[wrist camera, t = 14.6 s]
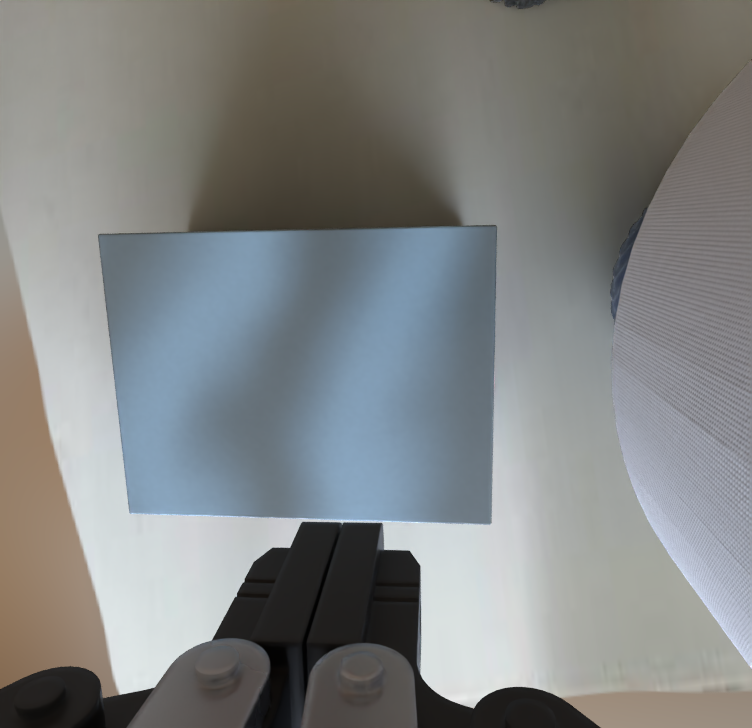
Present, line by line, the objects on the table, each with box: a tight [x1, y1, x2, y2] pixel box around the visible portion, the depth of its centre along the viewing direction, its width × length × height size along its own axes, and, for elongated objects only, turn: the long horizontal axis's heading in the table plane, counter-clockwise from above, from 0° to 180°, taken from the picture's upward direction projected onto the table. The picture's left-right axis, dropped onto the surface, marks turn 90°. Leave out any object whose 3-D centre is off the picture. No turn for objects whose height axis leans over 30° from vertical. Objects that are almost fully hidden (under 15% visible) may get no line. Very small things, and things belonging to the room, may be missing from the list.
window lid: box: [98, 225, 497, 525], centre depth 27 cm, size 16×13×1 cm
